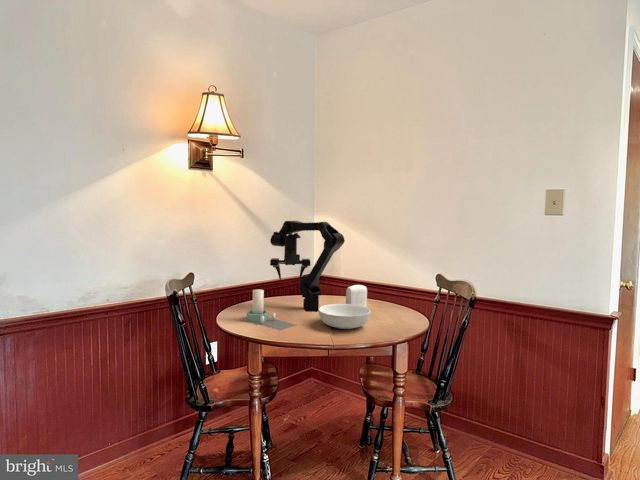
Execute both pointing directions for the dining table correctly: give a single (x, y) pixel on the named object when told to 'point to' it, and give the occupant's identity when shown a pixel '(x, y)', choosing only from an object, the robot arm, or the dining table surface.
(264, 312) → the end holder
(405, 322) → the dining table surface
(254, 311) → the white cylinder
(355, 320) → the serving bowl
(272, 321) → the board
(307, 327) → the dining table surface
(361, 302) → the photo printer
